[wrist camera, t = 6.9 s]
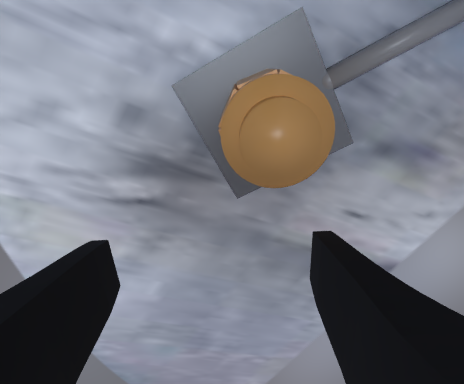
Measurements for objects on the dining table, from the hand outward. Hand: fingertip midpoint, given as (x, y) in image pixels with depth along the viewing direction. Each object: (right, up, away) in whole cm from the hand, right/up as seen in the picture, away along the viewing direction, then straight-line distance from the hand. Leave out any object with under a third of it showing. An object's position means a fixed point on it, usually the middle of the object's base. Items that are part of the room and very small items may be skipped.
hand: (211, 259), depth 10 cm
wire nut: (+3, +7, +7) cm, 10 cm away
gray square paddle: (+7, +10, +6) cm, 14 cm away
